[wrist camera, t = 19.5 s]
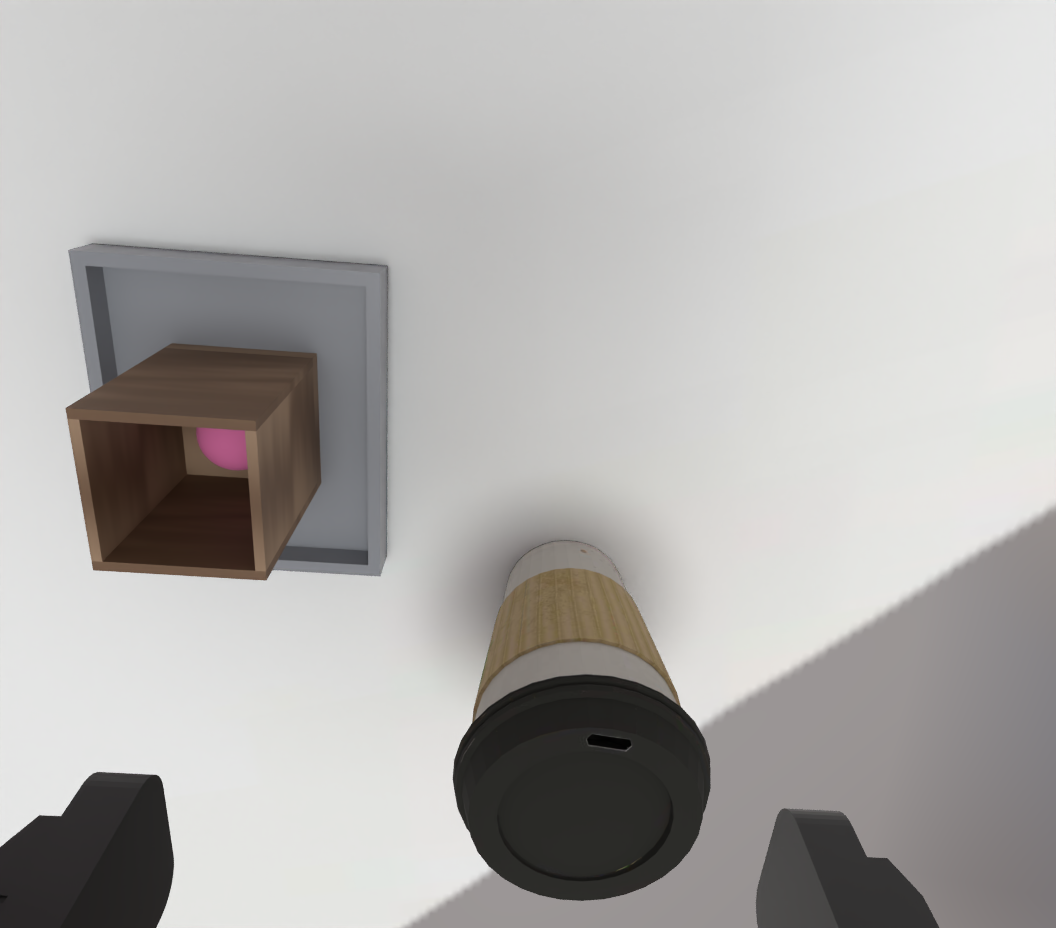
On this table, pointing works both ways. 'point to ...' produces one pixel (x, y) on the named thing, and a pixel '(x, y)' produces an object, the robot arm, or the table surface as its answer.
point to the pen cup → (197, 461)
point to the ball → (223, 447)
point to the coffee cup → (578, 738)
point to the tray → (268, 324)
